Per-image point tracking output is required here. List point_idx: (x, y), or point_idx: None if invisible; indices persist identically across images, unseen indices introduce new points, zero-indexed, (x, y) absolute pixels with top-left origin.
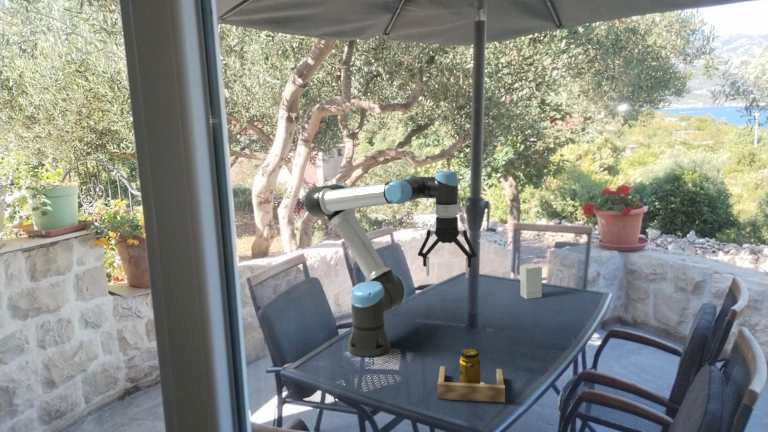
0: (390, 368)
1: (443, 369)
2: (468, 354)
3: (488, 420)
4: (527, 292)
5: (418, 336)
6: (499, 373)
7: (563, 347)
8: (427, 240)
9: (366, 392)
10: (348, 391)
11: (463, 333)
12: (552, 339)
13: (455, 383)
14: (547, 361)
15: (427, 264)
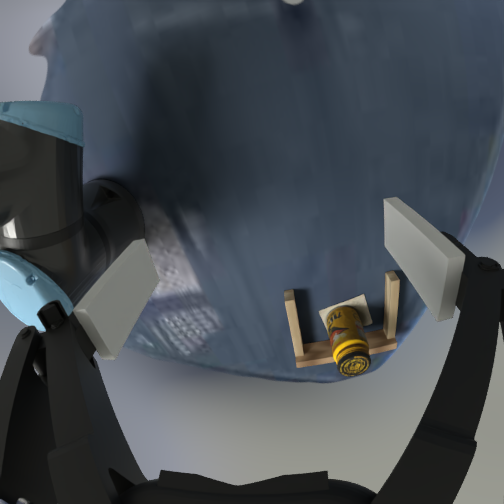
0: (185, 290)
1: (294, 310)
2: (352, 374)
3: None
4: None
5: (173, 119)
6: (394, 296)
7: (494, 115)
8: (52, 483)
9: (191, 356)
10: (168, 357)
11: (285, 60)
12: (479, 75)
13: (324, 359)
14: (470, 184)
15: (127, 327)
